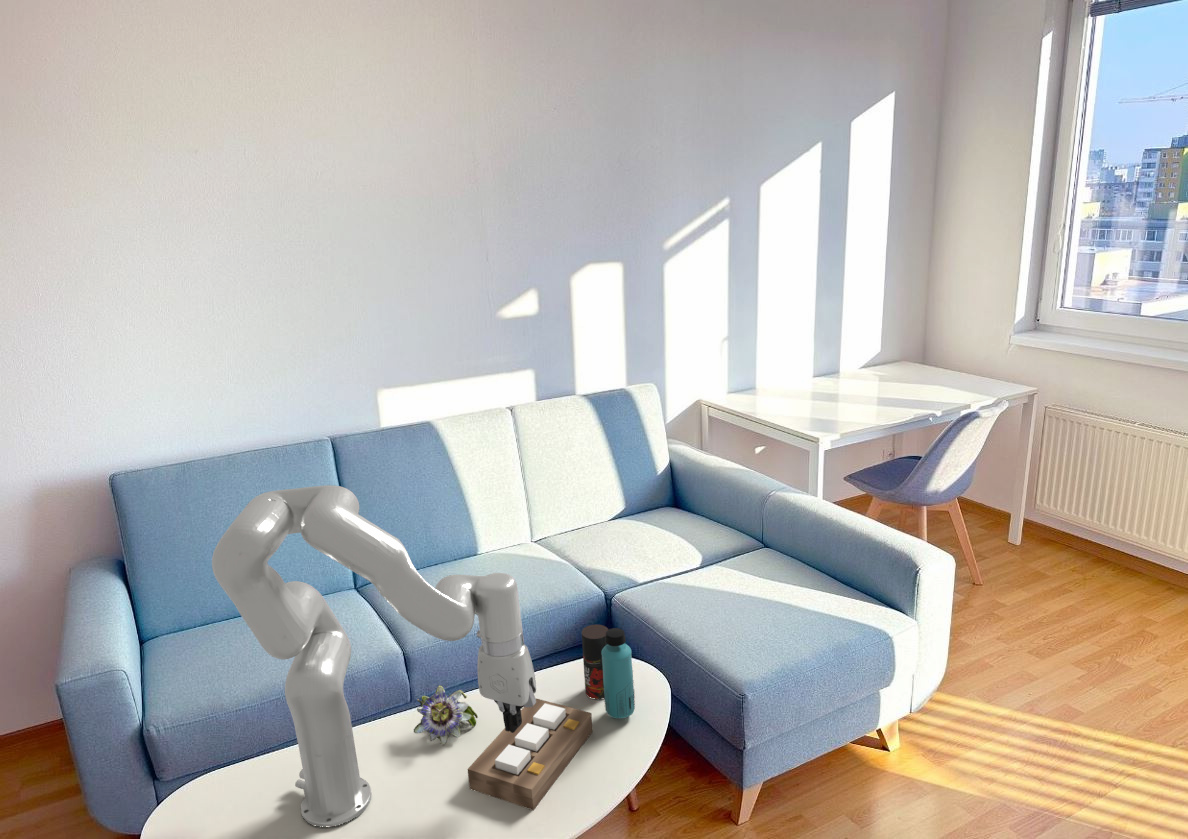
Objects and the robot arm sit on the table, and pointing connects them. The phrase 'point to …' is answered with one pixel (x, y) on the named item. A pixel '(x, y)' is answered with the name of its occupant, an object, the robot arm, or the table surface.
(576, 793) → the table surface
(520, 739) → the key middle
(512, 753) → the key left
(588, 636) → the deodorant
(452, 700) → the passion flower
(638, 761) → the table surface
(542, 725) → the key right
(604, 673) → the beverage bottle
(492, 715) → the table surface
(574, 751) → the keypad
